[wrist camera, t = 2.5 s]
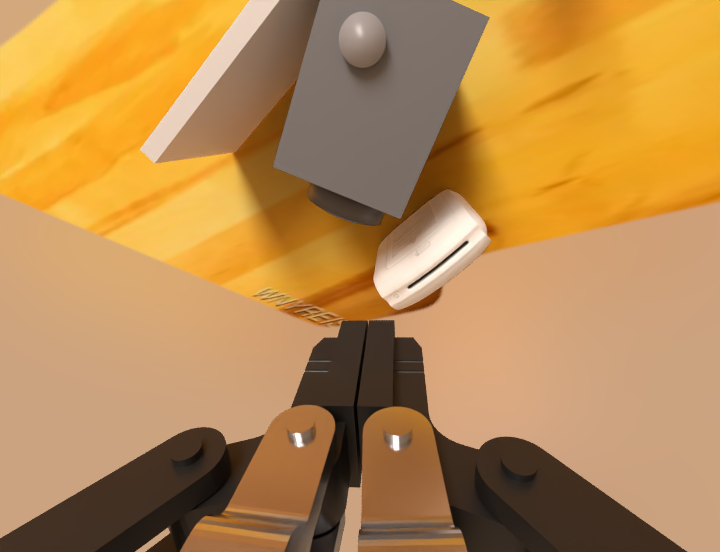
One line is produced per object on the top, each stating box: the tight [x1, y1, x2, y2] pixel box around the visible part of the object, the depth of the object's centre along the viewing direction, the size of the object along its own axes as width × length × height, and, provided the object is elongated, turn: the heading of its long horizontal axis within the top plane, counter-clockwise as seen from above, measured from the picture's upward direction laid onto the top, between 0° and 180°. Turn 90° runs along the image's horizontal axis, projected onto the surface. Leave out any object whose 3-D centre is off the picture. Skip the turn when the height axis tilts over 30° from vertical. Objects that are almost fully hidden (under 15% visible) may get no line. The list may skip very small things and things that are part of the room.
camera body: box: [273, 0, 490, 225], centre depth 29 cm, size 9×14×15 cm, turn 158°
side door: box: [140, 0, 320, 163], centre depth 28 cm, size 2×17×14 cm, turn 134°
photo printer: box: [373, 188, 491, 310], centre depth 33 cm, size 10×4×12 cm, turn 132°
